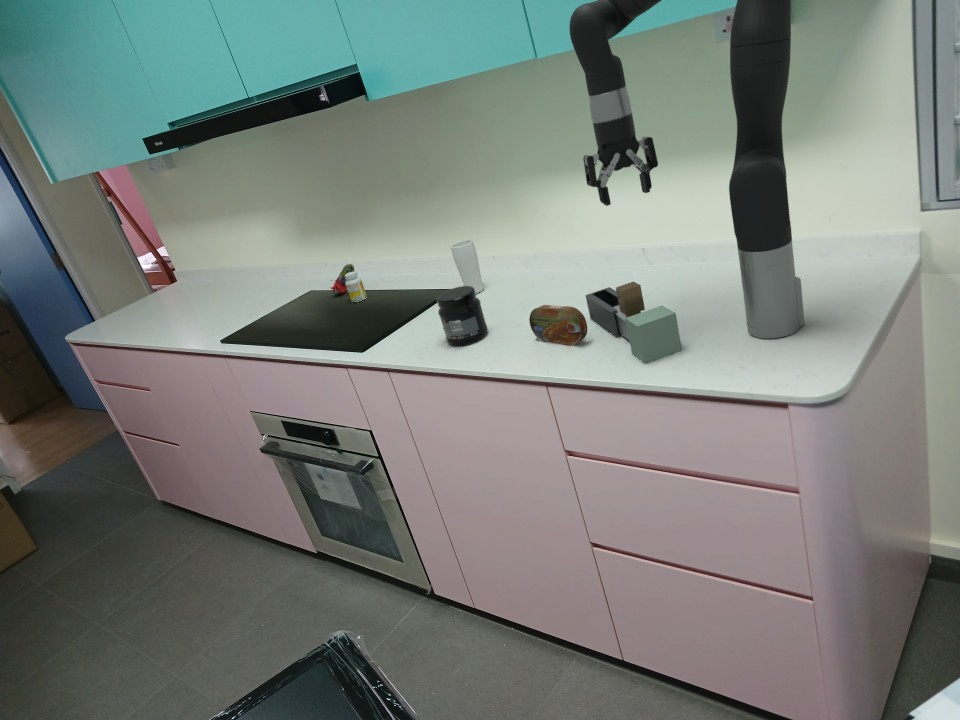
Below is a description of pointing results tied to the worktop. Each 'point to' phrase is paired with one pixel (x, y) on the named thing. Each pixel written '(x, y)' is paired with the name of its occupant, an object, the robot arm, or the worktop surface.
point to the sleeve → (604, 309)
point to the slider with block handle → (628, 305)
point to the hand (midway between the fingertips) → (626, 198)
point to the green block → (653, 334)
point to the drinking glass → (467, 264)
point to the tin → (558, 324)
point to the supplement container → (461, 316)
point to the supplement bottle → (355, 287)
